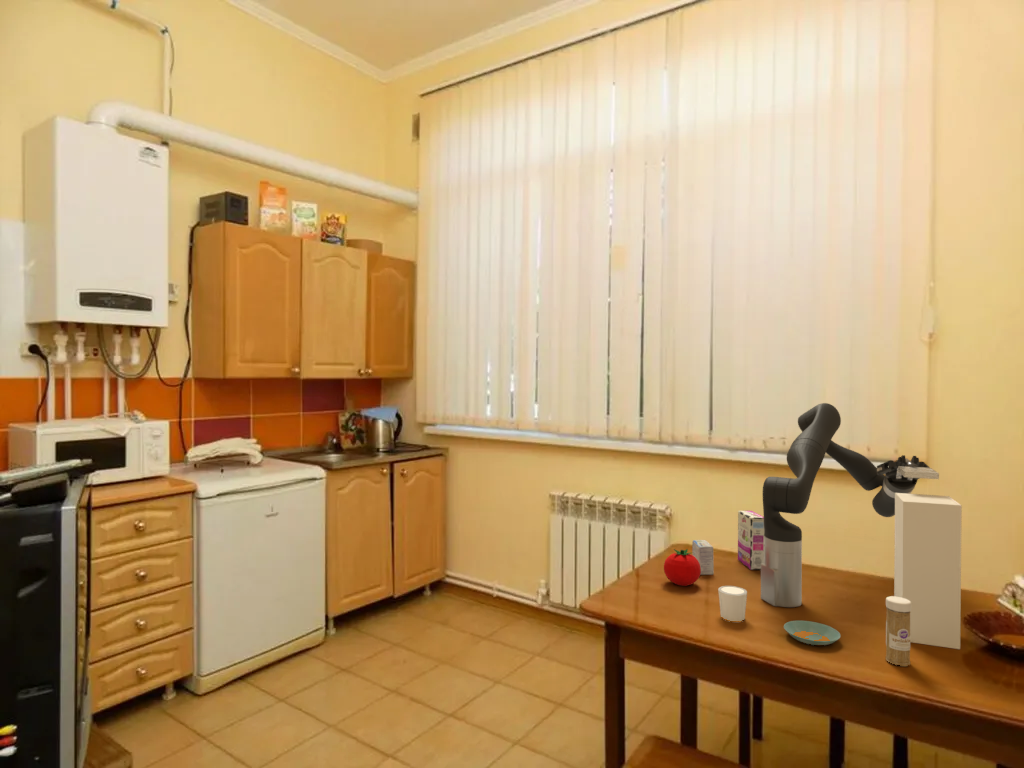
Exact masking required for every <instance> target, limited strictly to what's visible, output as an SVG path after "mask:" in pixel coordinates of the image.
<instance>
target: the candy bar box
mask: <svg viewBox="0 0 1024 768" xmlns="http://www.w3.org/2000/svg"><path fill="white" fill-rule="evenodd" d="M737 560H738V562H740V563H741V564H742V563H743V566H745V567H746V566H747V567H746V568H748V569H749V570H750V571H761V564H763V563H764V515H761V514H758V512H755V511H754V510H738V511H737Z"/></svg>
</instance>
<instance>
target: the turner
mask: <svg viewBox="0 0 1024 768" xmlns="http://www.w3.org/2000/svg"><path fill="white" fill-rule="evenodd" d="M905 460H906V463H905V465H904V466H898V472H899V473H900V474H901V475H903V476H904V477H909V478H920V479H928V480H930V479H931V480H939V479H940V473H939V472H938V471H936V470H935V469H933V468H931V467H930V468H924V467H918V466H917V465H916V464H914V463H913V462H911V459H909V458H906V457H905Z"/></svg>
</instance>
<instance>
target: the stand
mask: <svg viewBox="0 0 1024 768" xmlns="http://www.w3.org/2000/svg"><path fill="white" fill-rule="evenodd" d="M962 508H963V506H962V504H961V503H959V502H958V501H957V500H955V499H953V498H952V497H951V496H950V495H936V494H924V493H923V494H918V493H911V494H907V493H895V515H894V568H893V569H894V570H893V571H894V576H893V580H894V583H893V585H894V587H893V588H894V589H893V593H894V594H893V596H896V597H902V598H905V599H908V600H909V601H910V602H911V611H910V612H911V613H910V643H913V644H921V645H928V646H934V647H941V648H942V647H943V648H949V649H954V650H961V619H962V618H961V616H962V615H961V612H962V611H961V610H962V609H961V607H962V606H961V604H962V601H961V599H962V595H961V594H962V590H961V589H962V511H963V510H962Z"/></svg>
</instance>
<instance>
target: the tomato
mask: <svg viewBox="0 0 1024 768" xmlns="http://www.w3.org/2000/svg"><path fill="white" fill-rule="evenodd" d="M673 550H674V552H672V553H670V555H668V556H667V557H666V559H665V560H664V563H663V571H664V574H665V577H666V578H667V579H668V580H669V581H670V582H671V583H673V584H675V585H678V586H683V587H684V586H690V585H693V584H694V583H696V581H698V580H699V578H700V576H701V575H700V574H701V567H700V564H699V561H698V560H697V559H696V558H695V557H694V556H693V554H692V552H688V548H687V549H685V550H684V549H680V550H676V549H673Z"/></svg>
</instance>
